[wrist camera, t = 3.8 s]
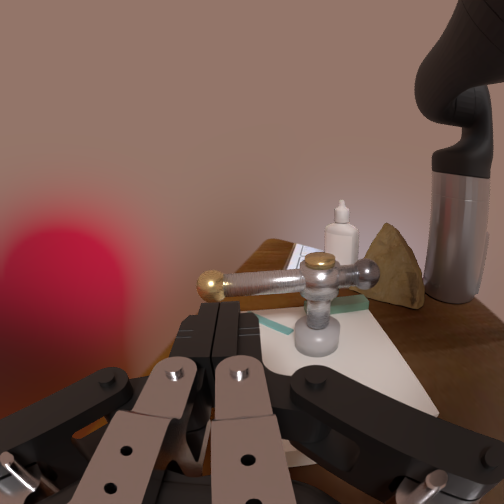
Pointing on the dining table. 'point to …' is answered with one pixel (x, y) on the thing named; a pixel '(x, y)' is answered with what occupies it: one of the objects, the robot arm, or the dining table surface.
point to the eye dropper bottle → (342, 237)
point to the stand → (339, 353)
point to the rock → (395, 271)
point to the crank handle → (295, 283)
